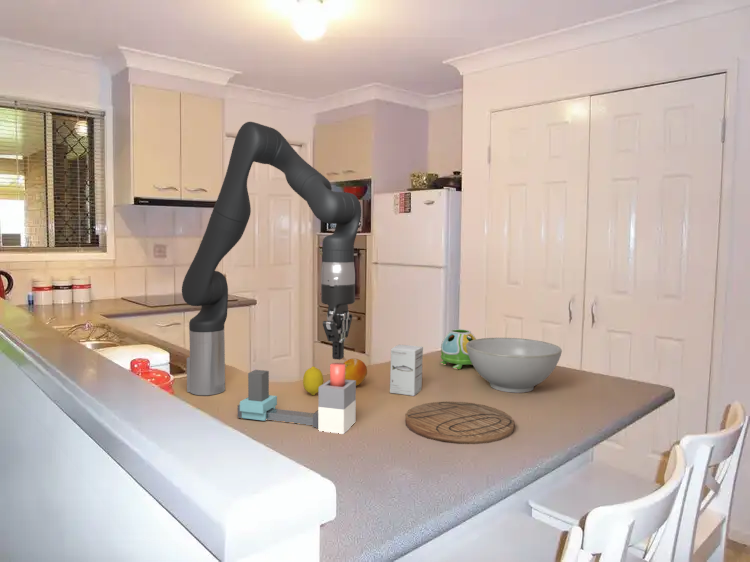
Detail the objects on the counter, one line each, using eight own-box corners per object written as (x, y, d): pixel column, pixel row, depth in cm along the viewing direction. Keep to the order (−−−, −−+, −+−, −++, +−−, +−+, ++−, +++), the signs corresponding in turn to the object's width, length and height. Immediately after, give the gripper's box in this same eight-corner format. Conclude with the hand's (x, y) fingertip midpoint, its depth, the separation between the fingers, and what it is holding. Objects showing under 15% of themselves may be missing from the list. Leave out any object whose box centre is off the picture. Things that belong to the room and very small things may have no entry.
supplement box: (389, 393, 154) (389, 348, 153) (398, 386, 160) (398, 343, 159) (414, 396, 151) (415, 350, 150) (422, 389, 158) (423, 345, 157)
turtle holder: (473, 375, 175) (474, 337, 174) (432, 364, 189) (433, 329, 188) (498, 369, 183) (499, 333, 182) (457, 359, 197) (458, 326, 196)
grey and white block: (318, 431, 124) (318, 387, 123) (331, 419, 131) (331, 378, 130) (343, 434, 122) (343, 389, 121) (355, 422, 129) (355, 380, 129)
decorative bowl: (525, 372, 179) (526, 335, 178) (580, 396, 153) (582, 353, 152) (449, 378, 170) (450, 339, 169) (495, 404, 145) (496, 358, 144)
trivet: (383, 420, 132) (383, 412, 132) (458, 402, 147) (459, 395, 147) (458, 455, 112) (458, 445, 112) (536, 430, 127) (537, 422, 127)
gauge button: (327, 391, 125) (327, 365, 124) (333, 387, 128) (333, 362, 127) (342, 393, 124) (342, 366, 123) (347, 389, 127) (347, 363, 126)
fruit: (332, 388, 158) (332, 360, 157) (344, 381, 166) (344, 354, 165) (360, 391, 155) (360, 363, 154) (371, 384, 163) (371, 357, 162)
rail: (237, 418, 131) (237, 405, 131) (248, 412, 136) (248, 399, 136) (317, 428, 125) (317, 414, 125) (325, 421, 130) (326, 408, 130)
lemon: (320, 399, 148) (320, 369, 147) (300, 397, 149) (300, 368, 148) (325, 393, 153) (326, 364, 152) (306, 391, 154) (306, 363, 153)
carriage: (239, 418, 130) (239, 374, 129) (254, 410, 136) (254, 367, 136) (262, 421, 128) (262, 376, 127) (276, 412, 135) (276, 369, 134)
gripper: (333, 279, 131) (333, 351, 133) (310, 284, 119) (310, 363, 120) (363, 280, 129) (363, 354, 130) (343, 285, 116) (343, 366, 118)
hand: (338, 358), depth 125 cm, fingers closed
